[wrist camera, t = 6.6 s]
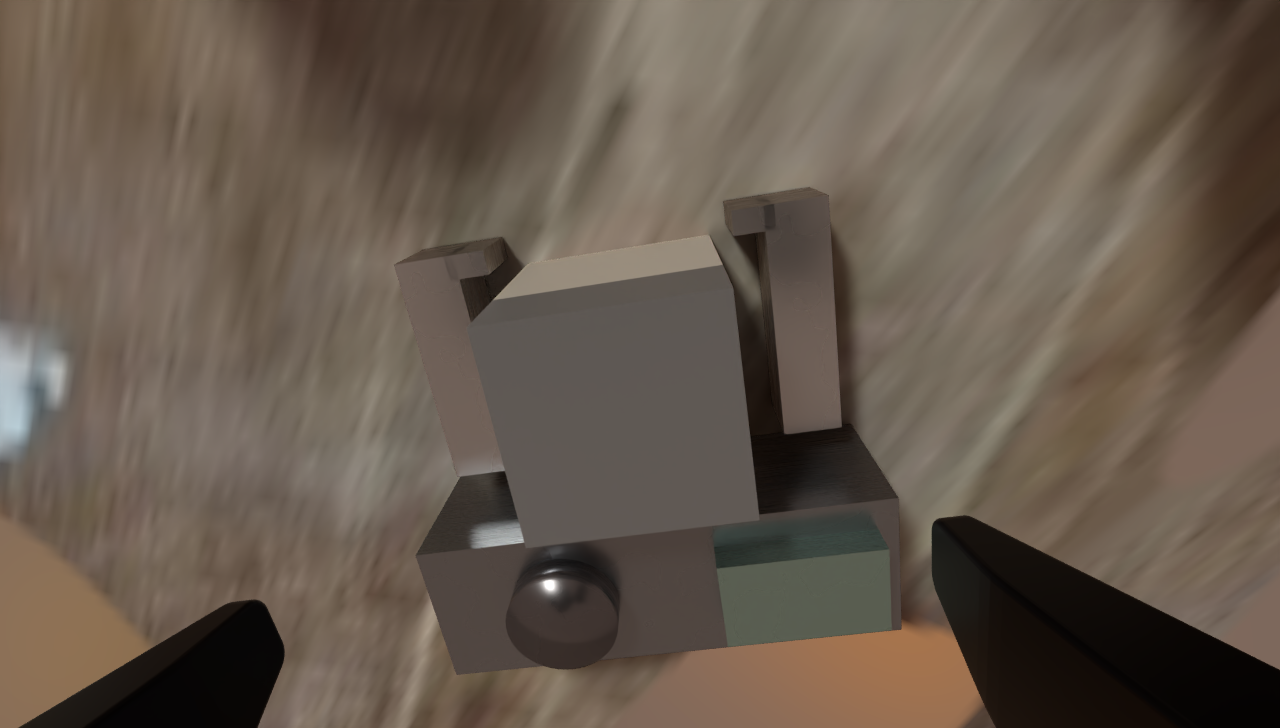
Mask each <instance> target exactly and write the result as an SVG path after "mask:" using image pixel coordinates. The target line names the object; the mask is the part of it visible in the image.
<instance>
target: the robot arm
mask: <svg viewBox="0 0 1280 728" xmlns="http://www.w3.org/2000/svg"><path fill="white" fill-rule="evenodd" d="M932 577H933V582H934V586H935V590H936V592H937V595H938V597H939V600H940V602H941V604H942V607H943V609H944V611H945V614H946V616H947V619H948V621H949V623H950V626H951V628H952V630H953V633H954V635H955V637H956V640H957V642H958V645H959V647H960V649H961V652H962V654H963V656H964V659H965V661H966V663H967V666H968V668H969V671H970V673H971V675H972V678H973V680H974V682H975V685H976V687H977V689H978V692H979V694H980V696H981V698H982V701H983V703H984V705H985V707H986V709H987V711H988V713H989V715H990V717H991V719H992V721H993V723H994V725H995V727H996V728H1280V670H1279V669H1277V668H1275V667H1273V666H1270V665H1269V664H1267V663H1265V662H1263V661H1261V660H1259V659H1257V658H1255V657H1253V656H1251V655H1249V654H1247V653H1245V652H1242V651H1241V650H1239V649H1237V648H1235V647H1233V646H1231V645H1229V644H1227V643H1225V642H1223V641H1221V640H1219V639H1217V638H1214V637H1212V636H1210V635H1208V634H1206V633H1204V632H1202V631H1200V630H1198V629H1196V628H1194V627H1192V626H1190V625H1188V624H1186V623H1184V622H1182V621H1180V620H1178V619H1176V618H1174V617H1172V616H1170V615H1168V614H1166V613H1164V612H1162V611H1160V610H1158V609H1156V608H1154V607H1152V606H1150V605H1148V604H1146V603H1144V602H1142V601H1140V600H1138V599H1136V598H1134V597H1132V596H1130V595H1128V594H1126V593H1124V592H1122V591H1120V590H1118V589H1116V588H1114V587H1112V586H1110V585H1108V584H1106V583H1104V582H1102V581H1100V580H1098V579H1096V578H1094V577H1092V576H1090V575H1088V574H1086V573H1084V572H1082V571H1080V570H1078V569H1076V568H1073V567H1071V566H1069V565H1067V564H1065V563H1063V562H1061V561H1059V560H1057V559H1055V558H1053V557H1051V556H1049V555H1047V554H1045V553H1043V552H1041V551H1039V550H1037V549H1035V548H1033V547H1031V546H1029V545H1027V544H1025V543H1023V542H1021V541H1019V540H1017V539H1015V538H1013V537H1011V536H1009V535H1007V534H1005V533H1003V532H1001V531H999V530H997V529H995V528H993V527H991V526H989V525H987V524H985V523H983V522H981V521H979V520H977V519H975V518H973V517H970V516H965V515H963V516H955V517H946V518H939V519H937V520H936V521H935V522H934V523H933V526H932ZM284 653H285V650H284V644H283V642H282V639H281V637H280V635H279V633H278V631H277V628H276V626H275V624H274V622H273V620H272V617H271V615H270V613H269V611H268V609H267V607H266V605H265V604H264V603H262V602H261V601H259V600H246V601H237V602H231V603H228V604H225V605H223V606H222V607H220V608H218V609H217V610H215V611H213V612H212V613H210V614H208V615H207V616H205V617H203V618H201V619H200V620H198V621H196V622H195V623H193V624H191V625H190V626H188V627H186V628H185V629H183V630H181V631H180V632H178V633H176V634H175V635H173V636H171V637H170V638H168V639H166V640H165V641H163V642H161V643H160V644H158V645H156V646H155V647H153V648H151V649H150V650H148V651H146V652H144V653H143V654H141V655H140V656H138V657H136V658H135V659H133V660H131V661H129V662H128V663H126V664H124V665H123V666H121V667H119V668H118V669H116V670H114V671H113V672H111V673H109V674H108V675H106V676H104V677H103V678H101V679H99V680H98V681H96V682H94V683H93V684H91V685H89V686H88V687H86V688H84V689H82V690H81V691H79V692H77V693H76V694H74V695H72V696H71V697H69V698H67V699H66V700H64V701H63V702H61V703H59V704H57V705H56V706H54V707H52V708H51V709H49V710H48V711H46V712H44V713H42V714H41V715H39V716H37V717H36V718H34V719H32V720H31V721H29V722H27V723H26V724H24V725H22V726H20V727H19V728H258V725H259V723H260V720H261V718H262V715H263V713H264V710H265V708H266V705H267V703H268V700H269V698H270V695H271V693H272V690H273V688H274V685H275V683H276V680H277V678H278V675H279V673H280V670H281V668H282V665H283V661H284Z"/></svg>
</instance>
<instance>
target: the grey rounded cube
mask: <svg viewBox="0 0 1280 728" xmlns="http://www.w3.org/2000/svg"><path fill="white" fill-rule="evenodd" d="M467 332H468V336H469V339H470V343H471V347H472V350H473V354H474V358H475V361H476V365H477V369H478V373H479V376H480V380H481V384H482V387H483V391H484V395H485V399H486V402H487V406H488V410H489V413H490V417H491V421H492V424H493V428H494V432H495V436H496V439H497V443H498V447H499V450H500V454H501V458H502V462H503V465H504V469H505V473H506V476H507V480H508V484H509V488H510V491H511V495H512V499H513V502H514V506H515V510H516V513H517V517H518V521H519V525H520V528H521V532H522V536H523V539H524V543H525V547H526V548H532V547H541V546H549V545H557V544H565V543H574V542H582V541H590V540H599V539H607V538H615V537H624V536H632V535H640V534H649V533H657V532H665V531H674V530H682V529H690V528H699V527H707V526H715V525H724V524H732V523H740V522H749V521H757V520H760V518H759V509H758V501H757V492H756V483H755V474H754V466H753V457H752V448H751V439H750V430H749V422H748V413H747V404H746V395H745V387H744V378H743V369H742V360H741V352H740V343H739V334H738V325H737V316H736V308H735V299H734V290H733V286H732V284H731V282H730V279H729V277H728V275H727V273H726V271H725V269H724V266H723V264H722V262H721V260H720V258H719V256H718V253H717V251H716V249H715V247H714V245H713V243H712V240H711V238H710V236H709V235H704V236H698V237H692V238H685V239H679V240H673V241H666V242H660V243H654V244H647V245H641V246H635V247H628V248H622V249H616V250H609V251H603V252H597V253H590V254H584V255H578V256H571V257H565V258H559V259H552V260H546V261H540V262H533V263H528V264H527V265H526V266H525V267H524V268H523V269H522V270H521V271H520V272H519V273H518V274H517V276H516V277H515V278H514V279H513V280H512V281H511V282H510V283H509V284H508V285H507V286H506V287H505V288H504V289H503V290H502V291H501V292H500V293H499V294H498V295H497V296H496V297H495V298H494V299H493V300H492V302H491V303H490V304H489V305H488V306H487V307H486V308H485V309H484V310H483V311H482V312H481V313H480V314H479V315H478V316H477V317H476V318H475V319H474V320H473V321H472V322H471V323H470V324H469V325H468V327H467Z"/></svg>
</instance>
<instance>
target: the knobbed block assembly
mask: <svg viewBox="0 0 1280 728" xmlns="http://www.w3.org/2000/svg"><path fill="white" fill-rule="evenodd" d="M723 205H724V213H725V222H726V225H727V227H728V228H729V230H730V231H731V233H732V234H733V236H739V235H745V234H752V233H755V236H756V246H757V256H758V266H759V276H760V287H761V297H762V307H763V317H764V328H765V338H766V348H767V358H768V368H769V379H770V389H771V399H772V405H773V407H774V410H775V412H776V415H777V417H778V420H779V422H780V425H781V427H782V430H783V432H784V433H777V434H769V435H761V436H753V437H750V439H751V448H752V457H753V466H754V474H755V483H756V492H757V501H758V509H759V518H760V520H757V521H749V522H740V523H732V524H724V525H715V526H707V527H699V528H690V529H682V530H674V531H665V532H657V533H649V534H640V535H632V536H624V537H615V538H607V539H599V540H590V541H582V542H574V543H565V544H557V545H549V546H541V547H532V548H526V547H525V543H524V539H523V536H522V532H521V528H520V525H519V521H518V517H517V513H516V510H515V506H514V502H513V499H512V495H511V491H510V488H509V484H508V480H507V476H506V473H505V469H504V465H503V462H502V458H501V454H500V450H499V447H498V443H497V439H496V436H495V432H494V428H493V424H492V421H491V417H490V413H489V410H488V406H487V402H486V399H485V395H484V391H483V387H482V384H481V380H480V376H479V373H478V369H477V365H476V361H475V358H474V354H473V350H472V347H471V343H470V339H469V336H468V332H467V327H468V325H469V324H470V323H471V322H472V321H473V320H474V319H475V318H476V317H477V316H478V315H479V314H480V313H481V312H482V311H483V310H484V309H485V308H486V307H487V306H488V305H489V304H490V303H491V301H490V297H489V293H488V289H487V285H486V281H485V277H484V275H489V274H490V273H491V272H492V271H494V270H495V269H496V268H497V267H498V266H499V265H501V264H502V263H503V262H504V261H505V260H506V259H507V255H506V251H505V247H504V243H503V238H502V237H498V238H492V239H486V240H480V241H474V242H467V243H461V244H455V245H449V246H443V247H436V248H430V249H424V250H421V251H419V252H417V253H415V254H413V255H412V256H410V257H408V258H406V259H404V260H402V261H400V262H398V263H396V264H394V267H395V270H396V274H397V277H398V280H399V284H400V287H401V290H402V294H403V297H404V300H405V304H406V307H407V310H408V314H409V317H410V320H411V324H412V327H413V330H414V334H415V337H416V340H417V344H418V347H419V350H420V354H421V357H422V360H423V364H424V367H425V370H426V374H427V377H428V380H429V384H430V387H431V390H432V394H433V397H434V400H435V404H436V407H437V410H438V414H439V417H440V420H441V424H442V427H443V430H444V434H445V437H446V440H447V444H448V447H449V450H450V453H451V457H452V460H453V463H454V467H455V470H456V473H457V477H460V479H459V480H458V482H457V484H456V486H455V487H454V489H453V491H452V493H451V494H450V496H449V498H448V500H447V501H446V503H445V505H444V507H443V508H442V510H441V512H440V514H439V515H438V517H437V519H436V521H435V522H434V524H433V526H432V528H431V530H430V531H429V533H428V535H427V537H426V538H425V540H424V542H423V544H422V545H421V547H420V549H419V551H418V552H417V554H416V558H417V561H418V564H419V567H420V570H421V573H422V575H423V578H424V581H425V584H426V587H427V590H428V593H429V596H430V599H431V602H432V605H433V608H434V610H435V613H436V616H437V619H438V622H439V625H440V628H441V631H442V634H443V637H444V640H445V642H446V645H447V648H448V651H449V654H450V657H451V660H452V663H453V666H454V669H455V672H456V674H457V675H459V674H469V673H479V672H489V671H499V670H508V669H518V668H528V667H538V666H546V667H550V668H555V669H576V668H581V667H585V666H588V665H591V664H593V663H595V662H597V661H599V660H607V659H616V658H626V657H636V656H646V655H656V654H666V653H675V652H685V651H695V650H705V649H714V648H724V647H733V646H744V645H753V644H764V643H773V642H783V641H793V640H803V639H812V638H823V637H832V636H842V635H852V634H862V633H871V632H882V631H891V630H901V585H900V542H899V499H898V497H897V495H896V493H895V492H894V490H893V489H892V487H891V486H890V484H889V482H888V481H887V479H886V478H885V476H884V475H883V473H882V472H881V470H880V468H879V467H878V465H877V464H876V462H875V461H874V459H873V457H872V456H871V454H870V453H869V451H868V450H867V448H866V447H865V445H864V443H863V442H862V440H861V439H860V437H859V436H858V434H857V432H856V431H855V429H854V428H853V426H852V425H851V424H846V425H842V422H841V404H840V387H839V369H838V351H837V334H836V316H835V298H834V281H833V263H832V245H831V228H830V210H829V195H827V194H825V193H822V192H820V191H817V190H815V189H813V188H810V187H808V188H801V189H795V190H789V191H783V192H777V193H771V194H764V195H758V196H752V197H746V198H740V199H733V200H727V201H723Z"/></svg>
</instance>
